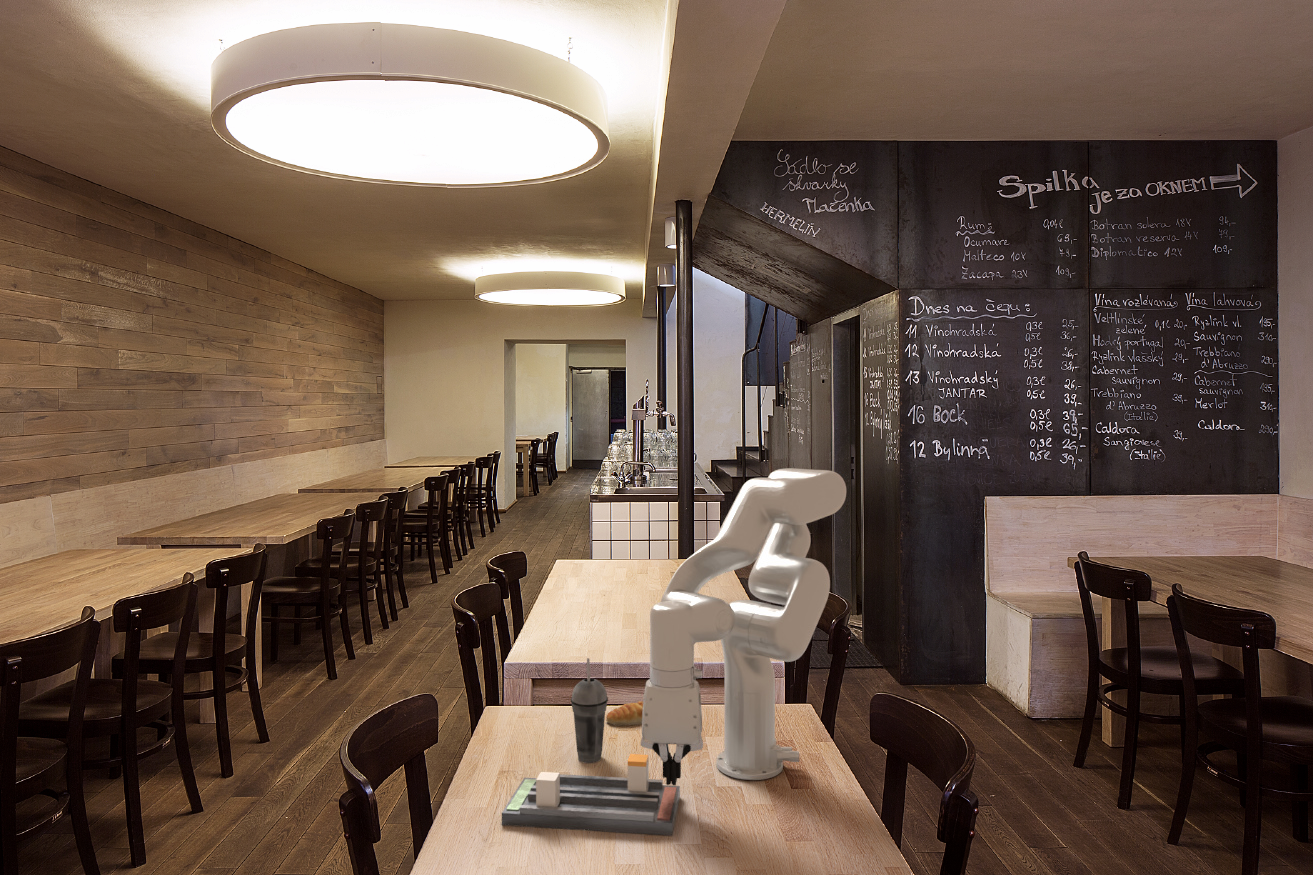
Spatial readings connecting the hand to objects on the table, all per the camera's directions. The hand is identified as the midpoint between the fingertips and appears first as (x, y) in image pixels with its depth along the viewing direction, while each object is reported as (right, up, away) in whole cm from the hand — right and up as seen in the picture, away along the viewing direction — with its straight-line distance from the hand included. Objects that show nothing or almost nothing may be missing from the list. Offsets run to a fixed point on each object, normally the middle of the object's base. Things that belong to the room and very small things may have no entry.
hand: (671, 781), depth 138 cm
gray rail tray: (-13, -4, -2) cm, 14 cm away
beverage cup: (-16, -4, +19) cm, 25 cm away
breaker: (-21, -2, -4) cm, 21 cm away
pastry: (-8, -4, +39) cm, 40 cm away
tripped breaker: (-6, -2, +1) cm, 6 cm away
